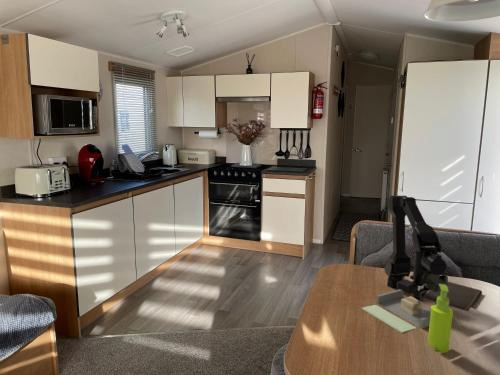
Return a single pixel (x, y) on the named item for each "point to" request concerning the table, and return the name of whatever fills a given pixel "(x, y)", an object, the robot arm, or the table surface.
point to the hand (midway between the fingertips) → (418, 304)
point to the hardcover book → (458, 296)
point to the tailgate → (389, 318)
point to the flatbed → (394, 304)
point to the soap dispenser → (440, 322)
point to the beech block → (411, 305)
